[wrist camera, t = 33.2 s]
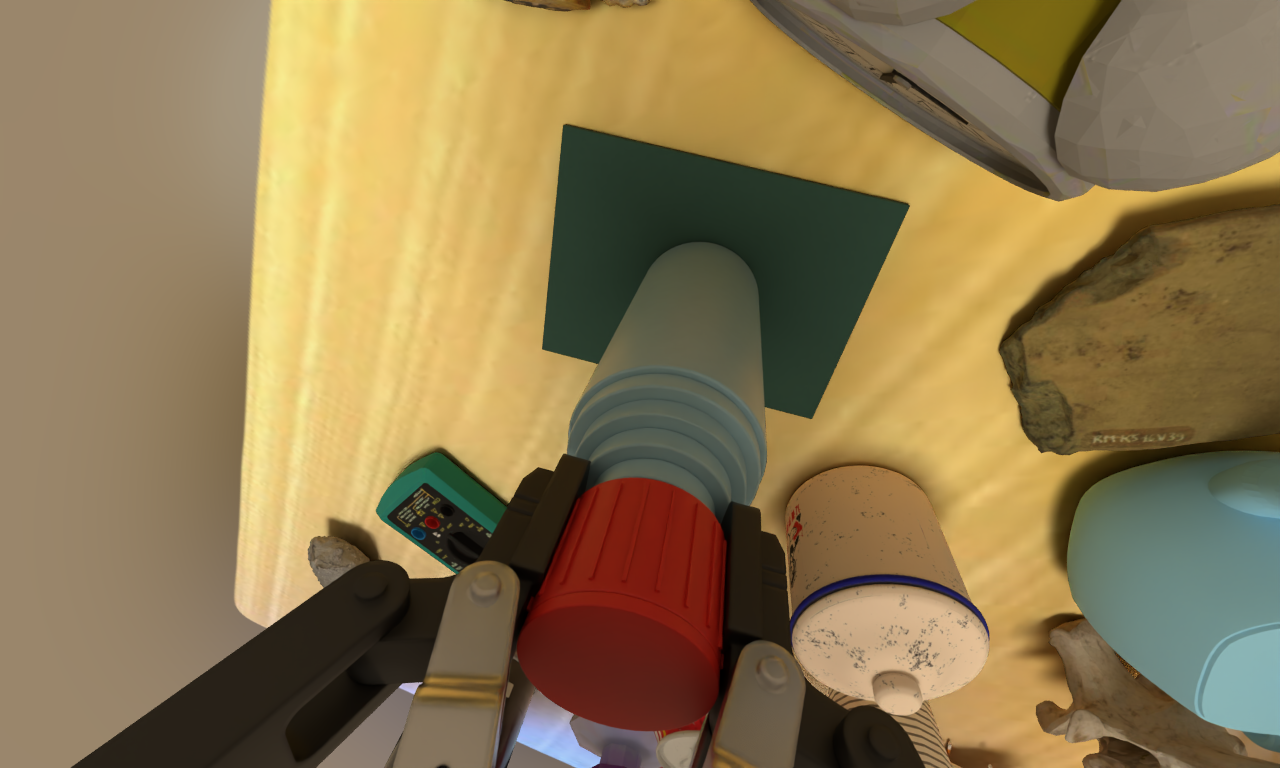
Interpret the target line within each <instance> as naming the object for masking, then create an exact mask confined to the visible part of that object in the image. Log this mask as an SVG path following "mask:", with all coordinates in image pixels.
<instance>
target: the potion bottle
mask: <svg viewBox="0 0 1280 768" xmlns="http://www.w3.org/2000/svg"><path fill="white" fill-rule="evenodd" d="M570 725H571V727H572V730H573V732H574V734H575V736H576V739H577V741H578V743H579V746H581V747H583V748H584V749H586V750H588V751H590V752H592V753H594V754H595V755H597V756H599V757H601V760H600V763H599V764H598V765H596V766H594V767H592V768H660V767H662V766H661V765H660V763H659V762H658V759H657V757H656V747H657V745H658V742H657V739H656V736H655V734H654V731H632V730H625V729H619V728H614V727H609V726H606V725H602V724H598V723H595V722H592V721H589V720H587V719H584V718H582V717H580V716H577V715H575V714H574V715H573V717H572V719H571V721H570Z"/></svg>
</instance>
